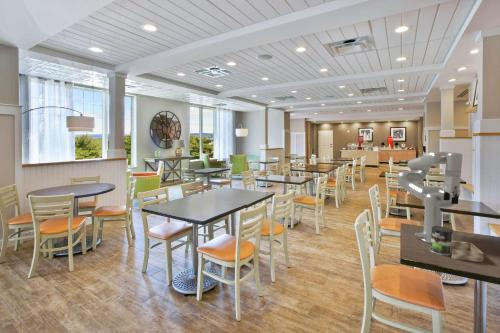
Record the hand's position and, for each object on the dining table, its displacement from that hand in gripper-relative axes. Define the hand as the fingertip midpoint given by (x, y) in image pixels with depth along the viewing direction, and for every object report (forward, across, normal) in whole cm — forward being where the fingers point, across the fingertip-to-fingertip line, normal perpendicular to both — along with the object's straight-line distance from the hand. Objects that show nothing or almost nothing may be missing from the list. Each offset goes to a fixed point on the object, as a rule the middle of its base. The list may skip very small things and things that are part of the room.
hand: (450, 202), depth 165 cm
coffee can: (+29, +7, -6) cm, 30 cm away
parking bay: (+29, +9, +4) cm, 30 cm away
